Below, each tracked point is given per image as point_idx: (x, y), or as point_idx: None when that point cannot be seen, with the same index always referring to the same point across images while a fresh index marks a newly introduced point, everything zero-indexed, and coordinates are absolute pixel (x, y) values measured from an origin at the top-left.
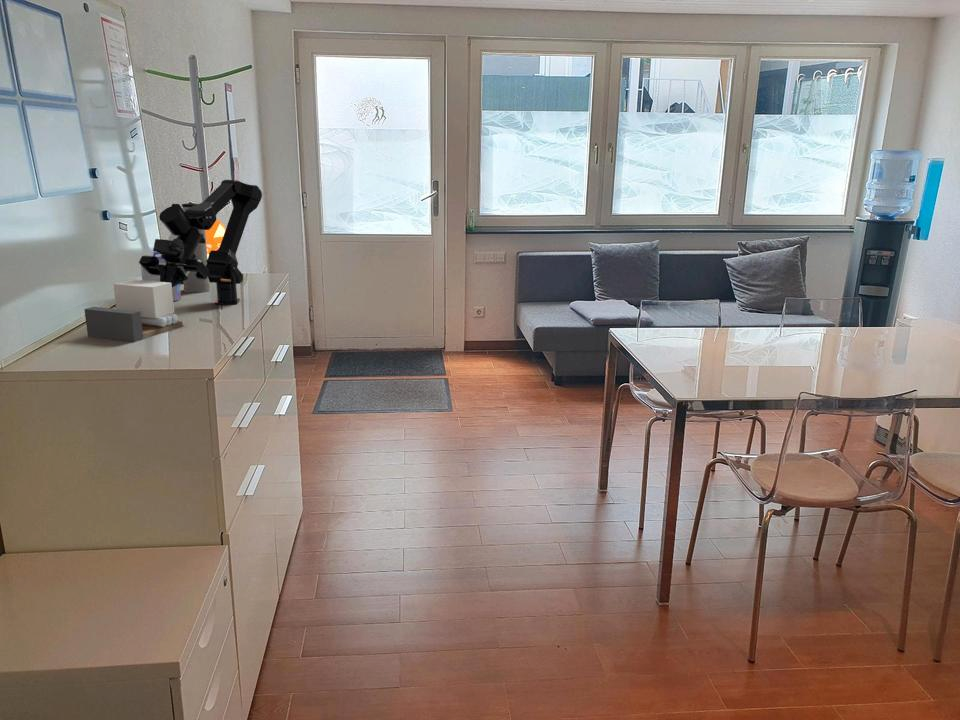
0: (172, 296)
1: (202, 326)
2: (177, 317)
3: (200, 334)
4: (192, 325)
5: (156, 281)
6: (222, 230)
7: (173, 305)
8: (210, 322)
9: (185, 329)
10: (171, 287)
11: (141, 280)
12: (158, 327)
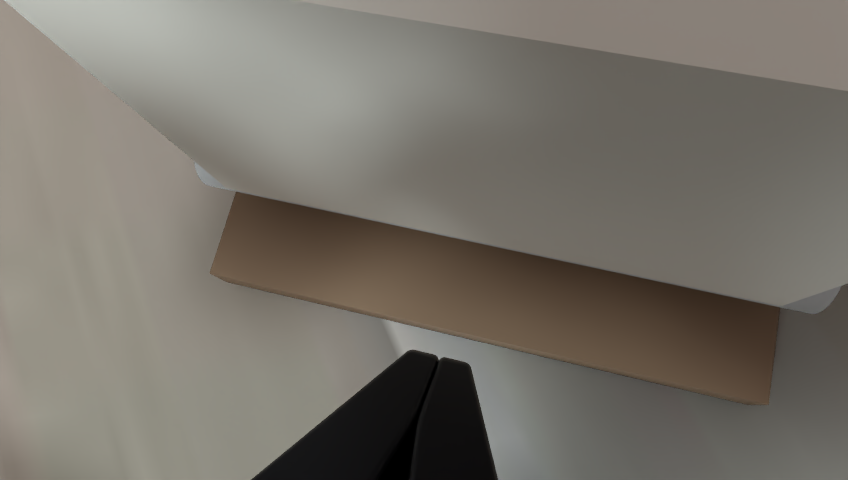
0: (121, 94)
1: (51, 293)
2: (202, 178)
3: (3, 39)
4: (149, 316)
5: (344, 8)
6: None
7: (186, 153)
8: (17, 466)
9: (163, 165)
10: (20, 2)
11: (834, 54)
12: None
